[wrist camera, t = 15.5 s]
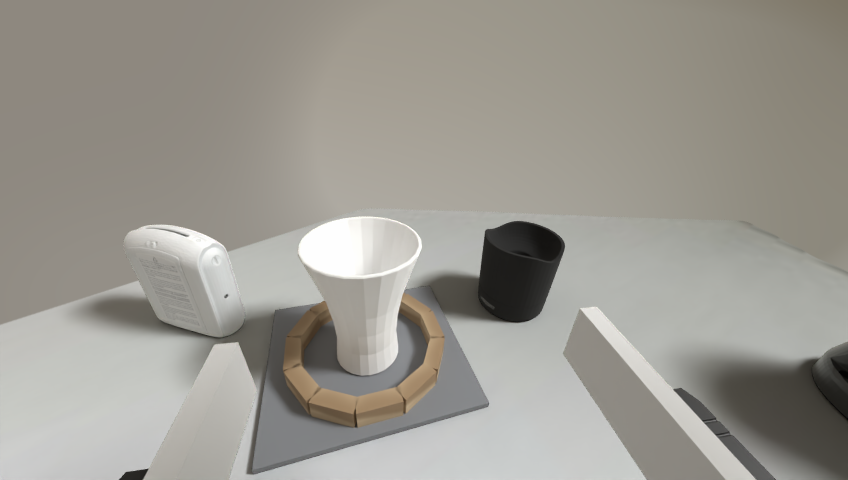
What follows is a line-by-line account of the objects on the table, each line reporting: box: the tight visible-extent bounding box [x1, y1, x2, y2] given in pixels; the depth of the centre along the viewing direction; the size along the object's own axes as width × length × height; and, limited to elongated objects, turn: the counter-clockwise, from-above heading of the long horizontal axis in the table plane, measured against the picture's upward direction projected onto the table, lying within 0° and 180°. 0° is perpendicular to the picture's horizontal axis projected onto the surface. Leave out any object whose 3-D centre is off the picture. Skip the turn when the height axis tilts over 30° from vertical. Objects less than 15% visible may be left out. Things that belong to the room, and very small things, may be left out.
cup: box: [298, 217, 422, 376], centre depth 30 cm, size 10×10×14 cm
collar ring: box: [283, 293, 445, 428], centre depth 33 cm, size 16×16×2 cm
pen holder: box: [478, 221, 565, 322], centre depth 40 cm, size 9×9×10 cm
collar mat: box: [252, 286, 489, 474], centre depth 34 cm, size 20×18×1 cm
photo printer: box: [124, 225, 246, 337], centre depth 34 cm, size 10×4×12 cm, turn 75°
